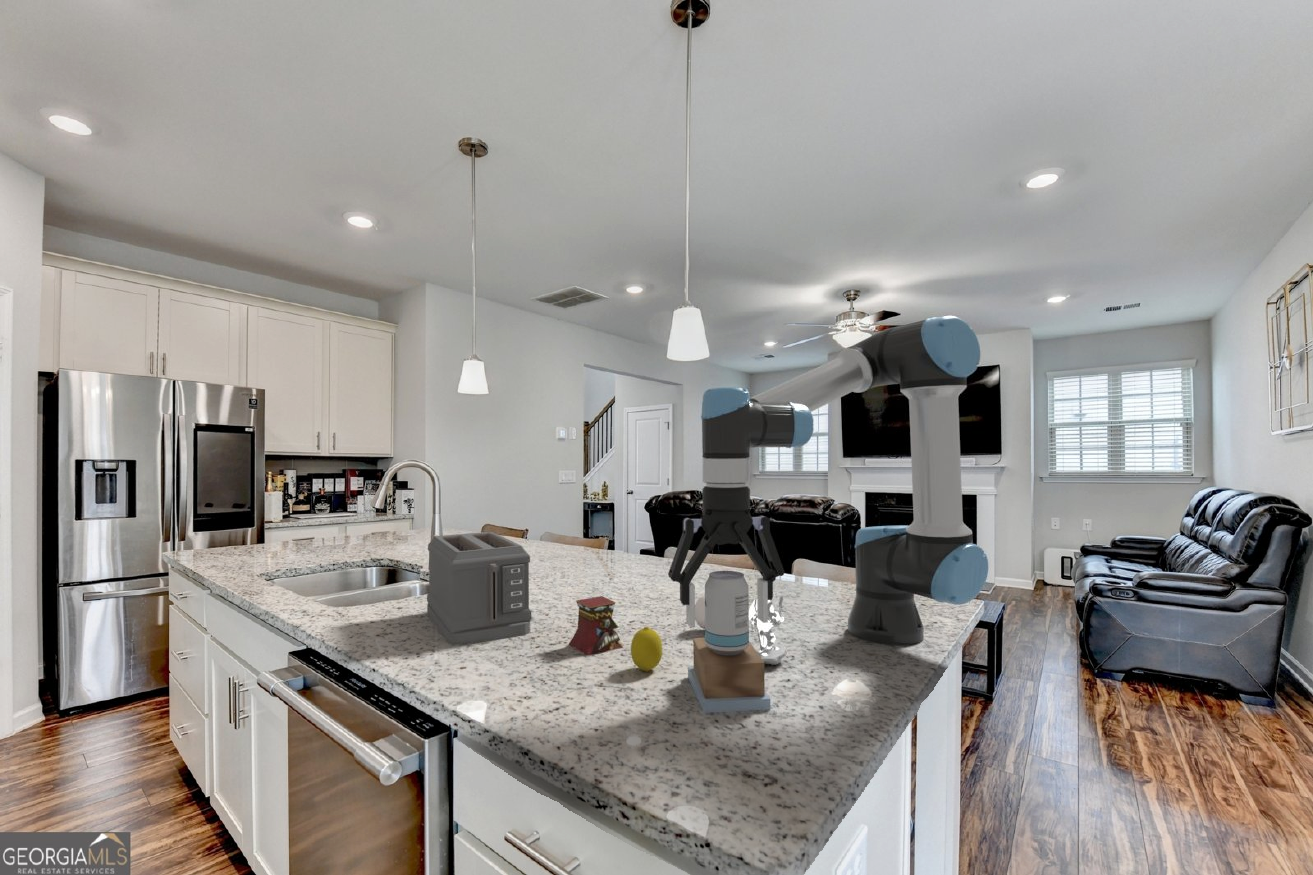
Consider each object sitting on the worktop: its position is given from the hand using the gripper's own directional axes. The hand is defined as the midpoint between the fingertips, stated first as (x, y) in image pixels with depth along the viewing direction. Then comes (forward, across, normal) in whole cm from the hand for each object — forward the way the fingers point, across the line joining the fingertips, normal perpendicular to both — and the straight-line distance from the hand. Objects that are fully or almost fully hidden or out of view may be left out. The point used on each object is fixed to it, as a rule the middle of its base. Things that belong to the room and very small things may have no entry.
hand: (727, 622), depth 93 cm
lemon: (+12, +11, -12) cm, 20 cm away
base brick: (+12, 0, 0) cm, 12 cm away
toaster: (+12, +44, -47) cm, 65 cm away
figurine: (+12, -11, -12) cm, 20 cm away
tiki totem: (+12, +19, -27) cm, 35 cm away
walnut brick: (+9, 0, 0) cm, 9 cm away
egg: (+12, -6, -33) cm, 36 cm away
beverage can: (+4, 0, 0) cm, 4 cm away
